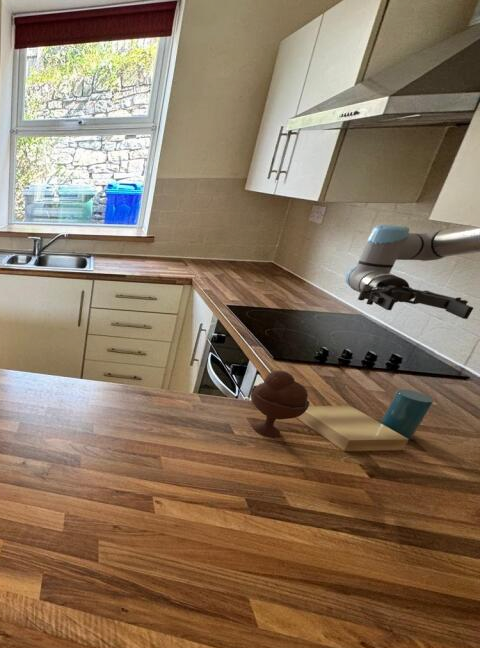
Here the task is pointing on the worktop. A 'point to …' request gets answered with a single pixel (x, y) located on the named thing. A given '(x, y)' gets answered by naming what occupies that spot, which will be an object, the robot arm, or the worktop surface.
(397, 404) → the canister
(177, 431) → the worktop surface
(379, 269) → the robot arm
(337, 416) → the platform
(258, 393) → the ice cream bowl
